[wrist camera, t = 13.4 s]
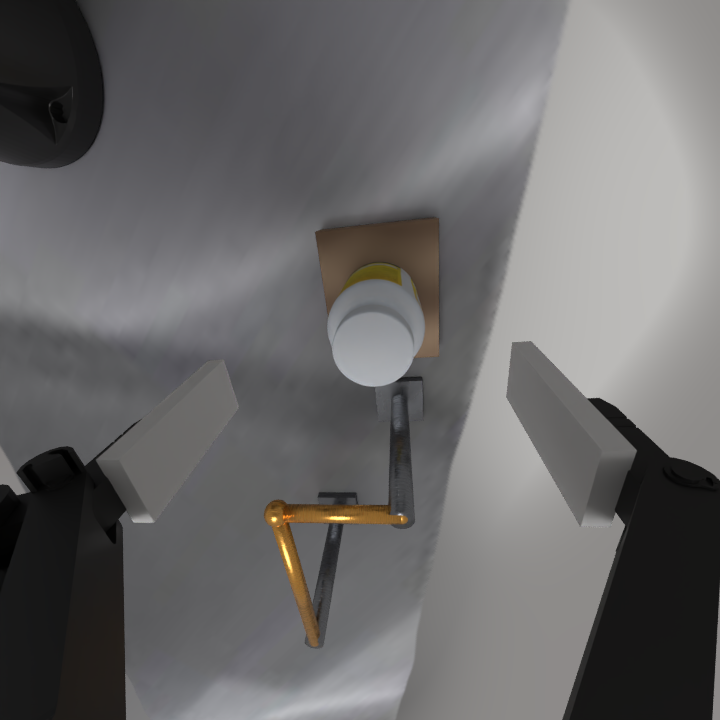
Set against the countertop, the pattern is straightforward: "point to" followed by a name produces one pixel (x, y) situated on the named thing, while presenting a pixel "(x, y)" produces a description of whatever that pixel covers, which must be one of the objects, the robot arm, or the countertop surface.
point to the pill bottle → (376, 325)
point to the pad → (393, 245)
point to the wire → (350, 508)
